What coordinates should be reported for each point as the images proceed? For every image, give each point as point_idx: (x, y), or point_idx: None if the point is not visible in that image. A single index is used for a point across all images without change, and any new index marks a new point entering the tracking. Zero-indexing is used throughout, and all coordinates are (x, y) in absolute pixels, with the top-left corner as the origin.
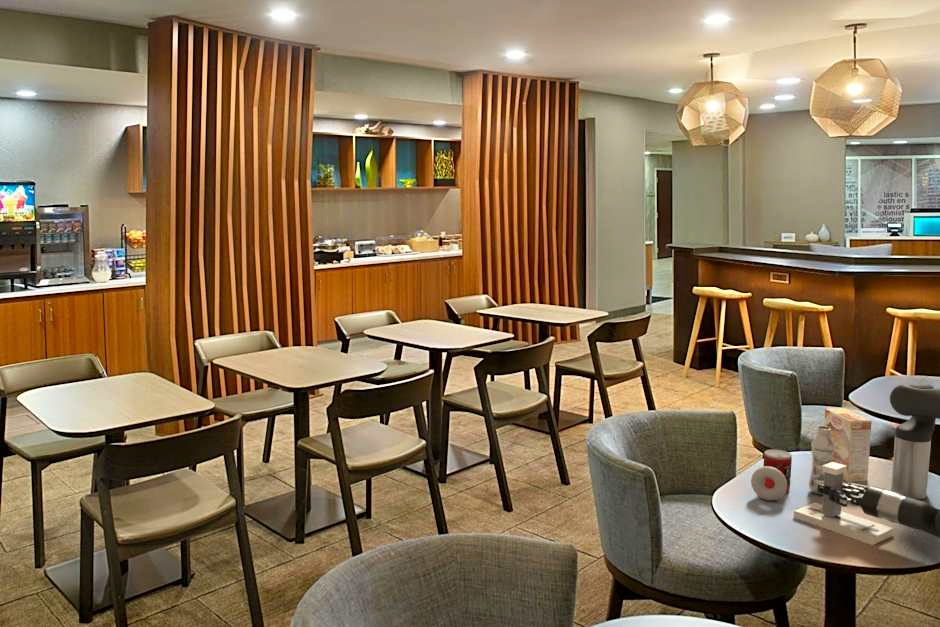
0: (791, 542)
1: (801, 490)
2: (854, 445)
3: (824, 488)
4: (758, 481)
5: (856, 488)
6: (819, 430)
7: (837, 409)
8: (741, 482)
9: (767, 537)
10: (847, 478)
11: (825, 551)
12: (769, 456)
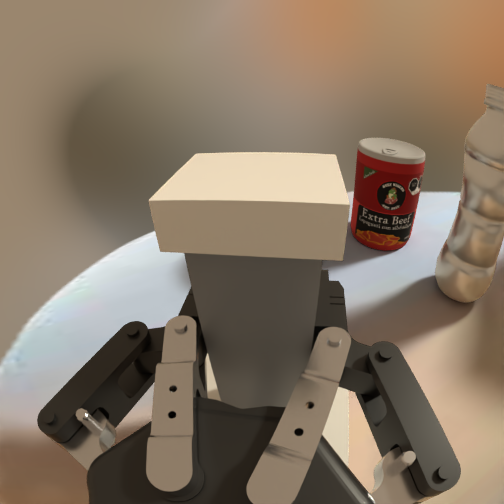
0: (35, 372)
1: (426, 262)
2: None
3: (187, 297)
4: None
5: (266, 447)
6: (487, 90)
7: None
8: None
9: (48, 325)
10: None
11: (11, 453)
12: (358, 145)
